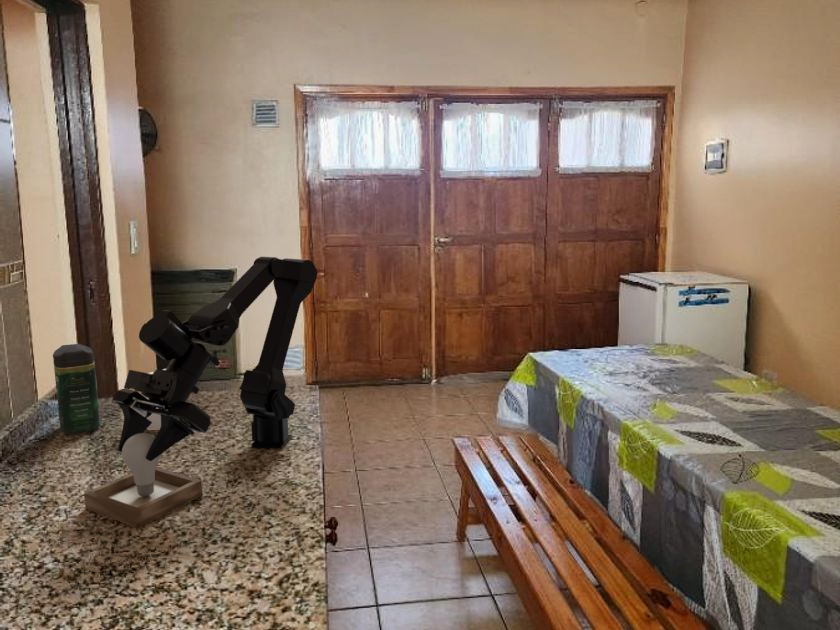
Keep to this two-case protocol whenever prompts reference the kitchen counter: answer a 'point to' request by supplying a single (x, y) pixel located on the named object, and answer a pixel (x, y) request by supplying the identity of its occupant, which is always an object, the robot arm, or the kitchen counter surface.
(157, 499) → the walnut tray
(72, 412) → the coffee jar
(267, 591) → the kitchen counter surface
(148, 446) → the lightbulb
